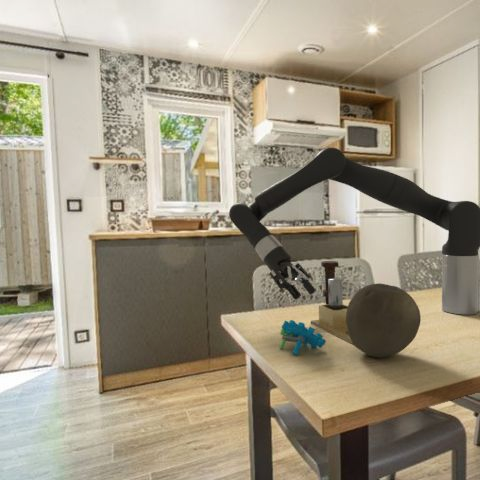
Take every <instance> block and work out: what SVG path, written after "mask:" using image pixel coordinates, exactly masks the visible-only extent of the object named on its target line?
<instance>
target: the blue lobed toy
mask: <svg viewBox="0 0 480 480" xmlns="http://www.w3.org/2000/svg"><path fill="white" fill-rule="evenodd" d="M305 325H306V324H305V323H303V322H300V321H299V322H298V323H297V322H296V321H295V320H293V319H290V320H289V321H287V320H284V322H283V324H281V330H280V333H279V334H280V335H281V336H282V337H281V339H282V341H281V344H280V346H279V349H281V350H283V349H284V348H285V345H286V342H292V343H296V344H295V346H294V349H293V351H292V355H294V356H298V354H299V352H300V349H301V346H302V345H304V346H308V345H309V346H310V347H311V348H314V349H315V348H317V347H318V348H320V349H322V347H323V346H325V345H326V339H324V338H323V337H324V335H323V334H322V333H320V332H317V333H316V334H315V331H316V329H315V328H314V327H312V326H308V328H307V327H306V326H305Z"/></svg>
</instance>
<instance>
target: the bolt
mask: <svg viewBox="0 0 480 480" xmlns="http://www.w3.org/2000/svg"><path fill="white" fill-rule="evenodd" d="M320 266H321V267H322V268H324V279H325V280H324V286H325V289H323V290H322V295H323V297H324V298H325V301H324V302H325V305H326V304H329V290H328V279H330V278H336V277H335V276H336V275H335V274H336V268H339V262H338V261H336V260H322V261H321V265H320Z"/></svg>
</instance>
